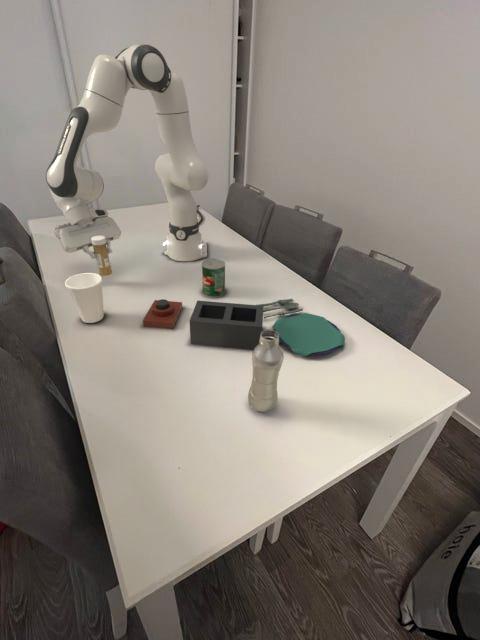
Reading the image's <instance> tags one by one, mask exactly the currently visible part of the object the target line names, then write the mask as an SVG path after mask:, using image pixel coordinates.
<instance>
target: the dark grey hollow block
mask: <svg viewBox="0 0 480 640" xmlns="http://www.w3.org/2000/svg"><path fill="white" fill-rule="evenodd" d="M264 308H265V306H259V304H246V303H245V304H244V303H235V302H220V301H211V300H210V301H209V300H199V299H198V300H196V303H195V306H194V308H193V310H192V313H191V316H190V319H189V337H190V339H189V340H190V345H194V346H195V345H196V346H208V347H217V348H230V349H239V350H243V349H244V350H252V351H253V350H254V348H255V347H256V346H257V345H258V344H259V343H260V342H259V340H260V334H261V332H262V331H263V326H264V325H263V324H264V312H263V310H264Z"/></svg>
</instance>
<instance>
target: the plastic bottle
mask: <svg viewBox="0 0 480 640" xmlns="http://www.w3.org/2000/svg"><path fill="white" fill-rule="evenodd" d="M259 342H260V343H259V344H258V345H257V346H256V347H255V348H254V350H252V353H251V362H252V363H251V364H252V379H251V384H250V387H249V390H248V393H247V400H248V404H249V406H250V407H251V408H252V409H253V410H255V411H257V412H259V413H260V412H261V413H265V412H269V411H270V410H272V409H274V408H275V406H276V404H277V402H278V398H279V397H278V381H279V375H280V371H281V368H282V365H283V362H284V358H285V355H284V351H283V349H282V348H281V347H280V341H279V334H278V333H277V332H276V331H275V329H265V330H264V329H263V330H262V332H261V334H260V340H259Z"/></svg>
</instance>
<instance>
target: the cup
mask: <svg viewBox="0 0 480 640" xmlns="http://www.w3.org/2000/svg"><path fill="white" fill-rule="evenodd" d="M103 281H104V280H103V276H101V275H99V273H95V272H82V273H77V274H74V275H71V276H69V277H68V278H67V279H66V280H65V281H64V286H65V289H66V291H67V292H68V294H69V296H70V298H71V300H72V302H73V304H74V306H75V308H76V311H77V312H78V315H79V317H80V319H81V321H82V322H83V323H87V324H95V323H97V322H99V321H102V319H103V318H104V294H103V293H104V292H103V291H104V290H103V285H104V283H103Z"/></svg>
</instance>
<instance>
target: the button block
mask: <svg viewBox="0 0 480 640" xmlns="http://www.w3.org/2000/svg"><path fill="white" fill-rule="evenodd" d="M158 300H159V299H154V301H153V302H152V304H151V305H150V307H149V309H148V311H147V313H146V314H145V316H144V318H143V319H142V325H143V327H145V328H157V329H167V330H168V329H169V330H173V329H174V328H175V326H176V324H177V321H178V319H179V316H180V314H181V312H182V310H183V302H182V301H174V300H173V301H172V300H167V301H168V304H169V308H167V309H164V310H159V309H157V305H156V302H157V301H158Z"/></svg>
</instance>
